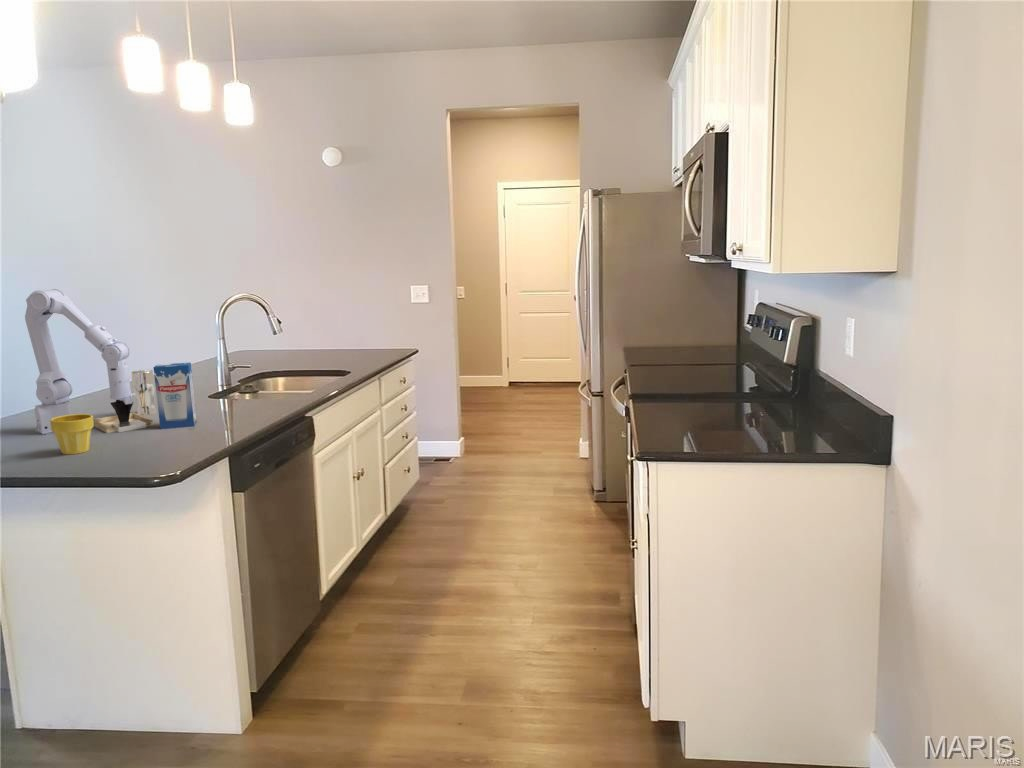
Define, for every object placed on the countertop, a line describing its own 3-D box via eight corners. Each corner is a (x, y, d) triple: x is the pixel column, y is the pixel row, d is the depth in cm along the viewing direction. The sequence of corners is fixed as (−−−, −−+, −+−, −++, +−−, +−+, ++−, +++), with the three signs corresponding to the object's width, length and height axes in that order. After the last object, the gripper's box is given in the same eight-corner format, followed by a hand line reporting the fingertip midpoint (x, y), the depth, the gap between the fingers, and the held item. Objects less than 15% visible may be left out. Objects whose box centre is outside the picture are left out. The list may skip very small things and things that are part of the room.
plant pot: (104, 445, 216) (99, 412, 215) (85, 455, 206) (80, 421, 205) (67, 447, 216) (62, 413, 214) (46, 457, 206) (41, 422, 204)
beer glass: (134, 417, 253) (129, 373, 251) (136, 413, 260) (131, 370, 257) (157, 415, 256) (152, 371, 253) (158, 411, 262) (153, 369, 260)
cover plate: (118, 432, 230) (118, 427, 230) (111, 428, 235) (111, 424, 235) (146, 427, 235) (145, 422, 235) (138, 424, 240) (138, 419, 240)
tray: (107, 434, 230) (106, 427, 230) (90, 426, 242) (89, 419, 241) (153, 426, 239) (152, 419, 239) (135, 419, 251) (134, 412, 251)
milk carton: (160, 431, 233) (153, 367, 229) (163, 426, 239) (156, 364, 235) (194, 428, 236) (188, 365, 232) (197, 423, 242) (191, 362, 238)
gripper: (140, 382, 233) (145, 424, 236) (125, 377, 244) (130, 418, 246) (116, 385, 229) (121, 428, 231) (101, 380, 239) (106, 421, 241)
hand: (124, 423), depth 238 cm, fingers closed
